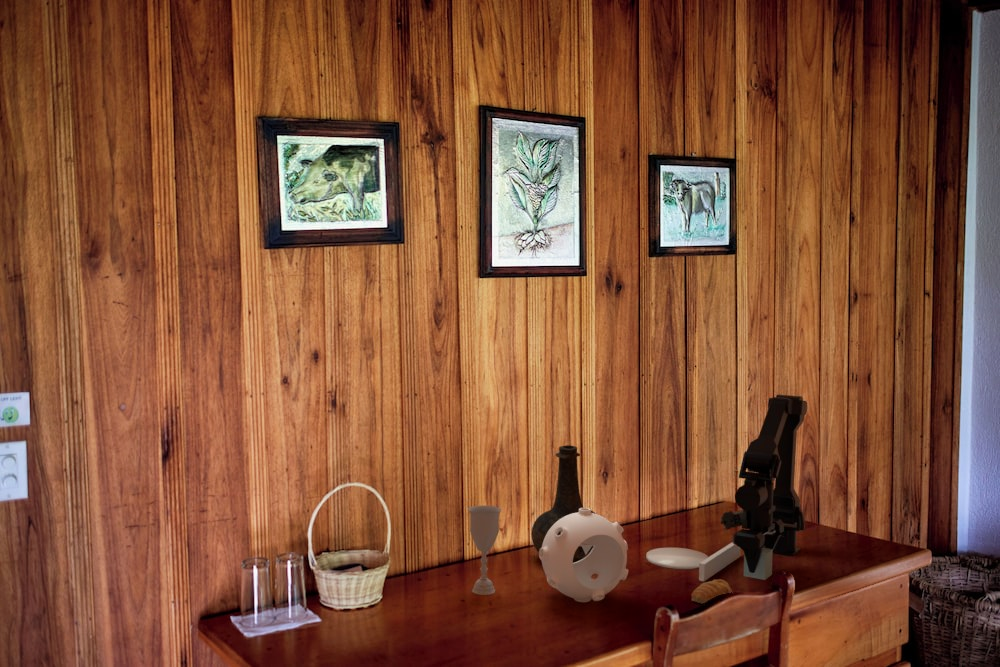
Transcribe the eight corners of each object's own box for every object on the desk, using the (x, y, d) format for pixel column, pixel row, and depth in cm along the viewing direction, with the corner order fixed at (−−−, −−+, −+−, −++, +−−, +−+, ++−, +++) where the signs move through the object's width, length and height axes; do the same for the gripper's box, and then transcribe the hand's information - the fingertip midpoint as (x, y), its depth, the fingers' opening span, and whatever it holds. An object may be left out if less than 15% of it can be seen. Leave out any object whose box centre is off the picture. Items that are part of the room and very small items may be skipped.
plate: (661, 547, 240) (661, 544, 240) (718, 557, 231) (718, 554, 231) (636, 561, 227) (636, 558, 227) (694, 573, 219) (694, 569, 219)
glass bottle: (620, 564, 225) (623, 448, 223) (561, 577, 214) (564, 456, 213) (573, 546, 239) (575, 437, 238) (516, 557, 229) (518, 443, 228)
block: (750, 570, 222) (751, 545, 221) (771, 574, 219) (772, 549, 218) (743, 576, 217) (744, 550, 217) (764, 580, 215) (765, 554, 214)
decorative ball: (605, 582, 211) (606, 496, 210) (643, 607, 195) (645, 514, 194) (523, 591, 204) (524, 502, 203) (556, 618, 188) (557, 522, 187)
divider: (735, 555, 233) (736, 539, 233) (740, 556, 233) (740, 540, 233) (699, 580, 214) (699, 563, 213) (704, 581, 213) (704, 564, 213)
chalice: (504, 588, 206) (505, 507, 205) (494, 598, 200) (495, 514, 199) (473, 584, 209) (474, 504, 208) (462, 593, 202) (463, 511, 201)
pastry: (708, 609, 196) (708, 591, 195) (682, 600, 201) (683, 583, 201) (735, 599, 202) (736, 582, 201) (710, 591, 207) (710, 574, 207)
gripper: (740, 489, 229) (738, 552, 230) (711, 504, 214) (710, 571, 215) (785, 496, 223) (783, 560, 224) (760, 511, 208) (757, 581, 209)
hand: (758, 568), depth 218 cm, fingers open, 8 cm apart
